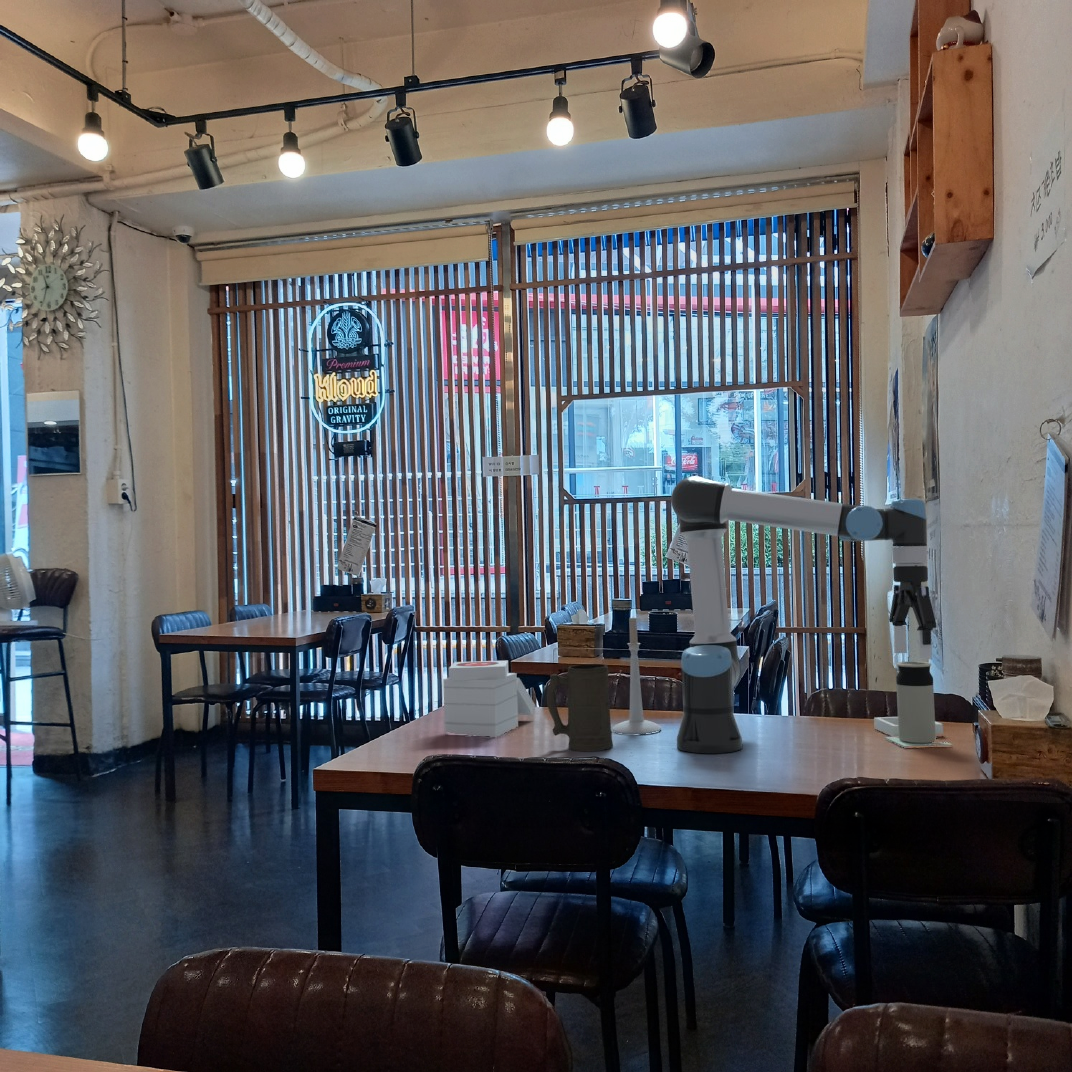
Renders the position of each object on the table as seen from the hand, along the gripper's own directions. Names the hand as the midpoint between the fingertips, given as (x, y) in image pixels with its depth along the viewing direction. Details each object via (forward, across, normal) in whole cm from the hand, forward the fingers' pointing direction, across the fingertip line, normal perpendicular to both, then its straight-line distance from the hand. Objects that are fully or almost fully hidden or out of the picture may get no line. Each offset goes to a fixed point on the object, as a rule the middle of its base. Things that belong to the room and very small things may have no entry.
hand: (912, 656), depth 216 cm
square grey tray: (+20, +12, -4) cm, 24 cm away
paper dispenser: (+22, +40, +100) cm, 110 cm away
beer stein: (+22, +8, +77) cm, 81 cm away
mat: (+20, 0, -1) cm, 20 cm away
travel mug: (+20, 0, 0) cm, 20 cm away
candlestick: (+22, +28, +61) cm, 71 cm away
